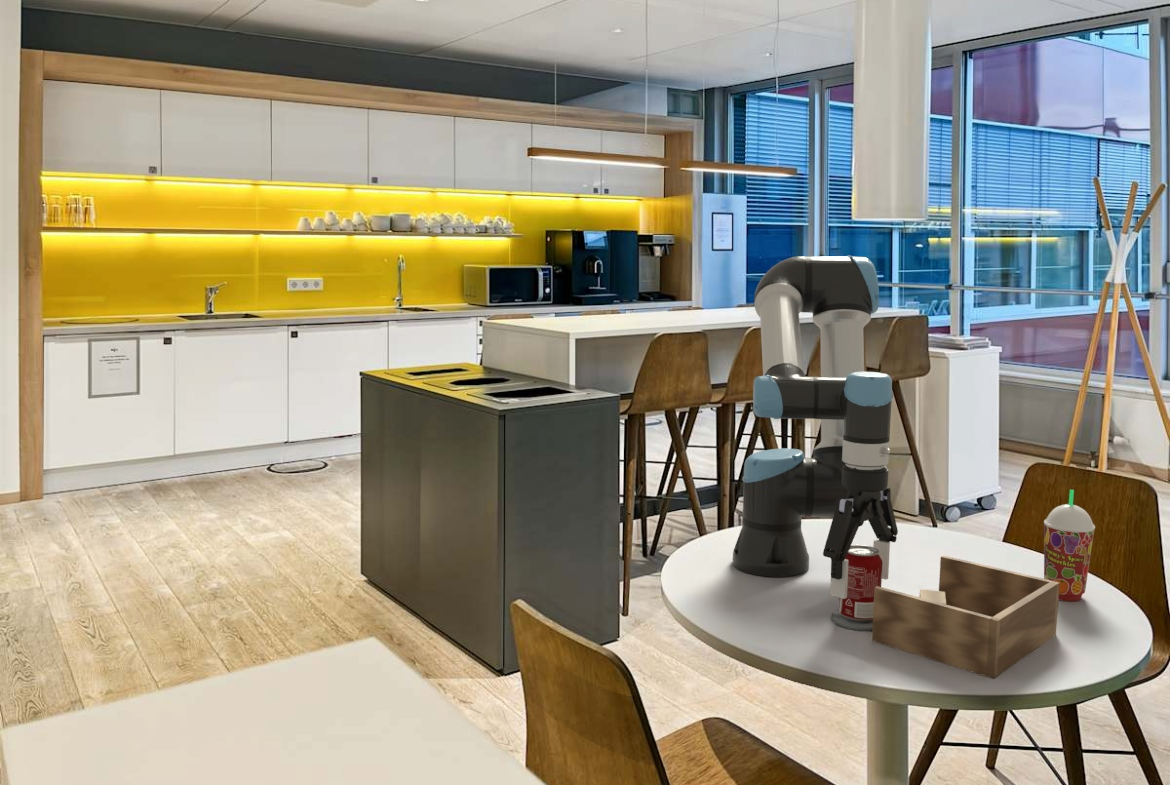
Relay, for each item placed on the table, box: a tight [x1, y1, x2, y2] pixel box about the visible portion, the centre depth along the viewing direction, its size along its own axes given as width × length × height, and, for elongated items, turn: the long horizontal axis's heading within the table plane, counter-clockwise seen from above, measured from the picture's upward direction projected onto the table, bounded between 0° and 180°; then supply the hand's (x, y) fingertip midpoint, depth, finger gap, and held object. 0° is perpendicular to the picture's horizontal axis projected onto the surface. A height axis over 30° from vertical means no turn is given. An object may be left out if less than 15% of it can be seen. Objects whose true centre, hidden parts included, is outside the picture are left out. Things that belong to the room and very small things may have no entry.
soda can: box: [838, 544, 883, 623], centre depth 168 cm, size 7×7×12 cm
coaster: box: [830, 609, 873, 632], centre depth 169 cm, size 9×9×1 cm
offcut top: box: [919, 588, 946, 604], centre depth 165 cm, size 4×6×3 cm, turn 162°
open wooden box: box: [871, 555, 1060, 679], centre depth 161 cm, size 20×24×9 cm
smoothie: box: [1043, 489, 1096, 602], centre depth 179 cm, size 8×8×20 cm
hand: (859, 586), depth 168 cm, fingers open, 13 cm apart
